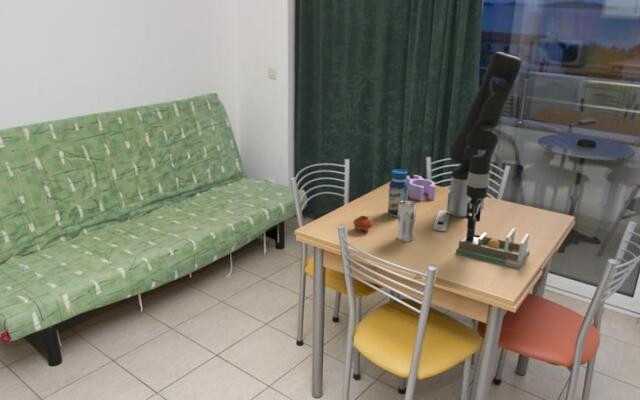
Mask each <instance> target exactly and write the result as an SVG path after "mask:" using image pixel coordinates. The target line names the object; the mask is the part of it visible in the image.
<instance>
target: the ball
mask: <svg viewBox="0 0 640 400" xmlns="http://www.w3.org/2000/svg"><path fill="white" fill-rule="evenodd" d="M496 239H497V238H496ZM496 239H491V240H490V241H489V242H488V246H489V247H491V248H495V249H497V248H498V247H499V241H498V240H496Z"/></svg>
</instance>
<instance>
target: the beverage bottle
mask: <svg viewBox="0 0 640 400" xmlns="http://www.w3.org/2000/svg"><path fill="white" fill-rule="evenodd" d="M390 176H391V180H390V182H389V186H388V187H389V189H388V203H387V204H388V205H387V206H388V207H387V214H388V215H389V216H390V217H396V218H398V208H399V202H401V201H408V190H407V188H408V184H407V182H406V179H407V176H408V171H407V170H405V169H401V168H400V169H399V168H398V169H397V168H396V169H393V170H391V175H390Z"/></svg>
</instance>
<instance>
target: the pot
mask: <svg viewBox="0 0 640 400" xmlns="http://www.w3.org/2000/svg"><path fill="white" fill-rule="evenodd" d="M353 225H354V230H355V231H357V230H360V231H364V232H365V234H366V233H368V231H369V229H371V228H372V227H373V225H374V222H373V220H372V219H371V218H369V217H368V216H366V215H360V216H359V217H357V218H355V219H354V221H353Z"/></svg>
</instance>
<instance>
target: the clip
mask: <svg viewBox="0 0 640 400" xmlns="http://www.w3.org/2000/svg"><path fill="white" fill-rule="evenodd" d="M406 182H407V184H408V188H407V190H408V194H407V197H408V198H411V199H413V200H417V201H418V200H419V202H422V201H424V194H427V195H428V198H427V199H428V200H431V201H435V200H436V190H437V189H436V188H437V187H436V183H435V181H433V180H431V179H427V178H426V179H425V178H423V177H422V175H416V174H413V178H410V175H407V179H406Z"/></svg>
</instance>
